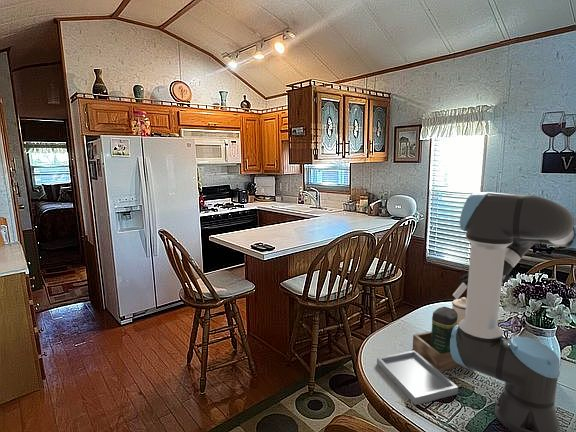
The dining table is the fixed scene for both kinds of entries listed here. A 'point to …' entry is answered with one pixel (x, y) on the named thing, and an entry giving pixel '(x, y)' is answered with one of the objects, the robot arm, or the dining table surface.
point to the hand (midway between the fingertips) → (468, 304)
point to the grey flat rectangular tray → (416, 377)
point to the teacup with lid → (459, 308)
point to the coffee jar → (442, 328)
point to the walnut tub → (432, 352)
